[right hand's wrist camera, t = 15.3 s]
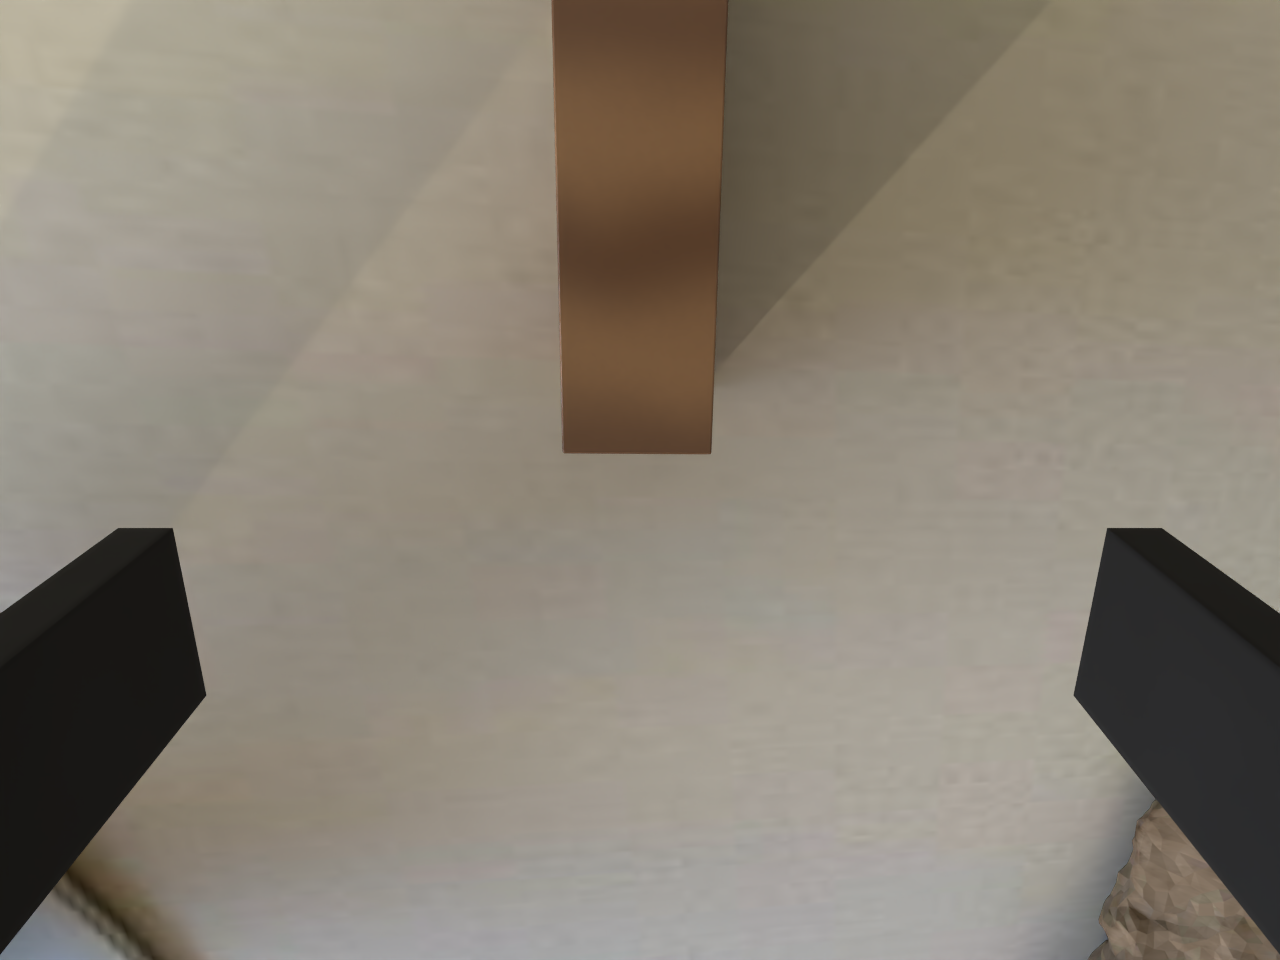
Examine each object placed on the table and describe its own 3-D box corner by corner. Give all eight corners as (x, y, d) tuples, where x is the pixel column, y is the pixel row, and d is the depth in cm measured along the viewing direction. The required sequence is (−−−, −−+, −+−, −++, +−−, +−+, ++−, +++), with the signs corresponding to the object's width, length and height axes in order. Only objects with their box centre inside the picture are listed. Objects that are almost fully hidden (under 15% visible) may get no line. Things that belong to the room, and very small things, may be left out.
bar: (696, 392, 37) (711, 454, 29) (578, 392, 37) (562, 453, 29) (720, -379, 28) (750, -573, 20) (564, -380, 28) (537, -575, 20)
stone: (1292, 1122, 47) (1361, 1231, 41) (1010, 1020, 49) (1038, 1111, 43) (1458, 769, 43) (1561, 834, 37) (1146, 675, 45) (1197, 722, 39)
